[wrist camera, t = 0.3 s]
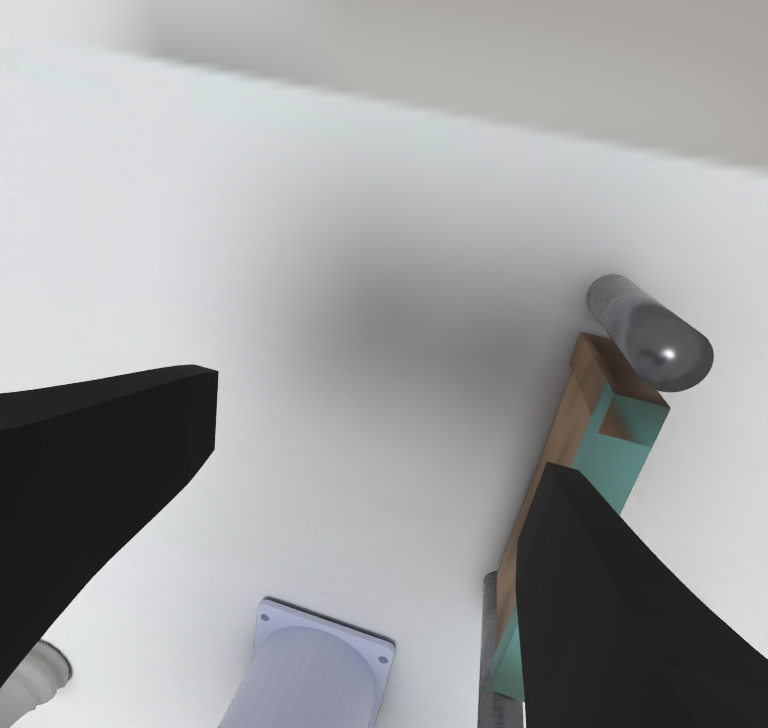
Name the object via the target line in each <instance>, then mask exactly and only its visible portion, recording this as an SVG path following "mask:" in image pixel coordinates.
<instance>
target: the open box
mask: <svg viewBox="0 0 768 728" xmlns="http://www.w3.org/2000/svg"><path fill="white" fill-rule="evenodd" d="M570 364H571V366H572V369H573V372H572V374H571V377H570V380H569V382H568V385H567V388H566V390H565V393H564V396H563V398H562V401H561V404H560V406H559V409H558V412H557V414H556V417H555V420H554V423H553V425H552V428H551V431H550V433H549V436H548V439H547V441H546V444H545V447H544V449H543V452H542V455H541V457H540V460H539V463H538V465H537V468H536V471H535V474H534V476H533V479H532V482H531V484H530V487H529V490H528V492H527V495H526V498H525V500H524V503H523V506H522V508H521V511H520V514H519V516H518V519H517V522H516V524H515V527H514V530H513V533H512V535H511V538H510V541H509V543H508V546H507V549H506V551H505V554H504V557H503V559H502V562H501V565H500V567H499V570H498V573H497V622H496V652H495V655H494V657H493V660H492V662H491V678H490V690H492V691H495V692H498V693H501V694H503V695H506V696H509V697H512V698H515V699H518V700H520V701H523V702H525V697H524V685H523V674H522V662H521V651H520V640H519V628H518V616H517V604H516V590H515V580H516V557H517V541H518V538H519V535H520V532H521V530H522V527H523V524H524V522H525V519H526V516H527V514H528V511H529V508H530V505H531V503H532V500H533V497H534V495H535V492H536V489H537V486H538V484H539V481H540V478H541V476H542V473H543V470H544V467H545V465H546V462H551V463H555V464H558V465H562V466H566V467H569V468H573V469H577V470H579V471H580V472H581V473H582V474H583V475H584V476H585V477H586V478H587V479H588V480H589V482H590V483H591V484H592V485H593V486H594V487H595V488H596V489H597V490H598V492H599V493H600V494H601V495H602V496H603V497H604V499H605V500H606V501H607V502H608V503H609V504H610V505H611V507H612V508H613V509H614V510H615V511H616V512H617V513H618V515H620V513H621V511H622V509H623V507H624V505H625V503H626V501H627V498H628V496H629V494H630V492H631V490H632V488H633V486H634V484H635V482H636V480H637V478H638V475H639V473H640V471H641V469H642V467H643V465H644V463H645V461H646V459H647V457H648V455H649V452H650V450H651V448H652V446H653V444H654V442H655V440H656V438H657V436H658V434H659V431H660V429H661V427H662V425H663V423H664V421H665V419H666V417H667V415H668V413H669V411H670V407H669V405H668V404H667V403H666V401H665V400H664V399H663V397H662V396H661V395H660V393H659V392H658V391H657V390H656V389H653V388H651V387H650V386H648V385H647V384H646V383H644V381H643V380H642V379H641V378H640V376H639V375H638V374H637V372H636V371H635V370H634V368H633V367H632V366H631V364H630V363H629V361H628V360H627V359H626V357H625V356H624V355H623V353H622V352H621V350H620V349H619V348H618V346H617V345H616V344H615V342H614V341H613V340H609V339H605V338H601V337H596V336H592V335H588V334H584V333H581V334H580V337H579V339H578V342H577V345H576V348H575V350H574V353H573V356H572V358H571V361H570Z"/></svg>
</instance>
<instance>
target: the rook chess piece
mask: <svg viewBox="0 0 768 728" xmlns="http://www.w3.org/2000/svg"><path fill="white" fill-rule="evenodd" d="M68 676H69V666H68V664H67V662H66V660H65V658H64V657H63V656H62V655H61V654H60V653H59V652H58V651H57V650H56V649H54V648H53V647H52V646H50V645H48V644H46V643H43V642H41V641H38V642H37V643H36V645H35V646H34V647H33V648H32V650H31V651H30V652H29V653H28V654H27V656H26V657H25V658H24V659H23V661H22V662H21V663H20V664H19V666H18V667H17V668H16V669H15V670H14V672H13V673H12V674H11V675H10V677H9V678H8V679H7V681H6V682H5V683H4V684H3V686H2V687H1V688H0V728H10V727H11V726H12V725H13V724H14V723H15V722H16V721H17V720H18V719H19V718H21V717H22V716H23V715H25V714H26V713H27V712H29V711H32V710H35V708H36V706H37V705H40V704H43V703H47V702H48V701H50V700H51V699H52V698H53V697H54V696H55V694H56V691H57V689H59V688H62V687H64V686H65V685H66V683H67V681H68Z"/></svg>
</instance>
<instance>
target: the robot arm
mask: <svg viewBox="0 0 768 728" xmlns="http://www.w3.org/2000/svg"><path fill="white" fill-rule="evenodd" d="M217 390H218V371H216V370H212V369H208V368H205V367H201V366H197V365H179V366H171V367H164V368H158V369H152V370H146V371H141V372H135V373H130V374H124V375H119V376H113V377H108V378H103V379H97V380H91V381H85V382H79V383H72V384H66V385H60V386H53V387H47V388H41V389H34V390H26V391H19V392H10V393H1V394H0V688H1V687H2V686H3V684H4V683H5V682H6V681H7V679H8V678H9V677H10V675H11V674H12V673H13V672H14V670H15V669H16V668H17V667H18V666H19V664H20V663H21V662H22V661H23V659H24V658H25V657H26V656H27V654H28V653H29V652H30V651H31V650H32V648H33V647H34V646H35V645H36V643H37V642H38V641H39V640H40V638H41V637H42V636H43V635H44V634H45V632H46V631H47V630H48V629H49V627H50V626H51V625H52V624H53V623H54V621H55V620H56V619H57V618H58V617H59V616H60V614H61V613H62V612H63V611H64V610H65V609H66V607H67V606H68V605H69V604H70V603H71V602H72V600H73V599H74V598H75V597H76V596H77V595H78V593H79V592H80V591H81V590H82V589H83V588H84V586H85V585H86V584H87V583H88V582H89V581H90V580H91V578H92V577H93V576H94V575H95V574H96V573H97V572H98V571H99V570H100V569H101V568H102V567H103V566H104V565H105V564H106V563H107V562H108V561H109V560H110V559H111V558H112V557H113V556H114V555H115V554H116V553H117V552H118V551H119V550H120V549H121V548H122V547H123V546H124V545H125V544H127V543H128V542H129V541H130V540H131V539H132V538H133V537H134V536H135V535H136V534H137V533H138V532H139V531H140V530H141V529H142V528H143V527H144V526H145V525H146V524H147V523H148V522H149V521H151V520H152V519H153V518H154V517H155V516H156V515H157V514H158V513H159V512H160V511H161V510H162V509H163V508H164V507H165V506H166V505H167V504H168V503H169V502H170V501H171V500H172V499H173V498H174V497H175V496H176V495H177V494H178V493H179V492H180V491H181V490H182V489H183V488H184V487H185V486H186V485H187V484H188V483H189V482H190V481H191V479H192V478H193V477H194V476H195V474H196V473H197V472H198V471H199V470H200V468H201V467H202V466H203V464H204V463H205V462H206V460H207V459H208V458H209V456H210V455H211V454H212V452H213V451H214V449H215V429H216V410H217ZM515 590H516V604H517V616H518V628H519V640H520V651H521V662H522V674H523V685H524V697H525V710H526V728H768V659H766V658H765V657H764V656H763V655H762V654H760V653H759V652H758V651H757V650H756V649H754V648H753V647H752V646H751V645H750V644H749V643H747V642H746V641H745V640H744V639H743V638H742V637H741V636H740V635H738V634H737V633H736V632H735V631H734V630H733V629H732V628H731V627H729V626H728V625H727V624H726V623H725V622H724V621H723V620H721V619H720V618H719V617H718V616H717V615H716V614H715V613H714V612H712V611H711V610H710V609H709V608H708V607H707V606H706V605H705V604H704V603H703V602H702V601H701V600H700V599H699V598H697V597H696V596H695V595H694V594H693V593H692V592H691V591H690V590H689V589H688V588H687V587H686V586H685V585H684V584H683V583H682V582H681V581H680V580H679V579H678V578H677V577H676V576H675V575H674V574H673V573H672V572H671V571H670V570H669V569H668V568H667V567H666V566H665V565H664V564H663V563H662V562H661V561H660V560H659V559H658V557H657V556H656V555H655V554H654V553H653V552H652V551H651V550H650V549H649V548H648V547H647V546H646V545H645V544H644V543H643V541H642V540H641V539H640V538H639V537H638V536H637V535H636V534H635V533H634V532H633V530H632V529H631V528H630V527H629V526H628V525H627V524H626V523H625V521H624V520H623V519H622V518H621V517H620V516H619V515H618V513H617V512H616V511H615V510H614V509H613V508H612V507H611V505H610V504H609V503H608V502H607V501H606V500H605V499H604V497H603V496H602V495H601V494H600V493H599V492H598V490H597V489H596V488H595V487H594V486H593V485H592V484H591V483H590V482H589V480H588V479H587V478H586V477H585V476H584V475H583V474H582V473H581V472H580V471H579V470H577V469H573V468H569V467H566V466H562V465H558V464H555V463H551V462H546V465H545V467H544V470H543V473H542V476H541V478H540V481H539V484H538V486H537V489H536V492H535V495H534V497H533V500H532V503H531V505H530V508H529V511H528V514H527V516H526V519H525V522H524V524H523V527H522V530H521V532H520V535H519V538H518V541H517V557H516V580H515ZM394 654H395V647H394V646H393V645H392V644H391V643H390V642H387V641H385V640H382V639H379V638H376V637H373V636H370V635H368V634H365V633H362V632H359V631H356V630H353V629H350V628H348V627H345V626H342V625H339V624H336V623H333V622H330V621H328V620H325V619H322V618H319V617H316V616H313V615H311V614H308V613H305V612H302V611H299V610H296V609H293V608H291V607H288V606H285V605H282V604H279V603H276V602H273V601H271V600H263V601H261V603H260V605H259V607H258V612H257V621H256V630H255V639H254V648H253V657H252V663H251V665H250V667H249V669H248V671H247V673H246V675H245V677H244V679H243V681H242V682H241V684H240V686H239V688H238V690H237V692H236V694H235V696H234V698H233V700H232V702H231V703H230V705H229V707H228V709H227V711H226V713H225V715H224V717H223V719H222V721H221V723H220V724H219V726H218V728H374V724H375V721H376V717H377V714H378V710H379V707H380V703H381V700H382V696H383V693H384V689H385V686H386V682H387V679H388V675H389V672H390V668H391V665H392V661H393V658H394Z"/></svg>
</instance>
